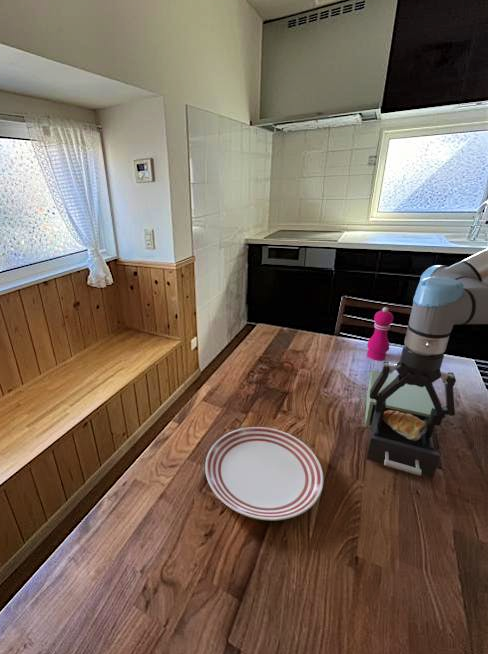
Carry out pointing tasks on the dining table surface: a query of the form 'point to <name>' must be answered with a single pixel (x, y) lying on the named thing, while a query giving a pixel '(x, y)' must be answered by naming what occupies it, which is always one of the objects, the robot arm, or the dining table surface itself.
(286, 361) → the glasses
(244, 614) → the dining table surface
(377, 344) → the pepper mill
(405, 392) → the mint green cabinet
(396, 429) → the pastry
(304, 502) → the dinner plate
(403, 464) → the drawer
